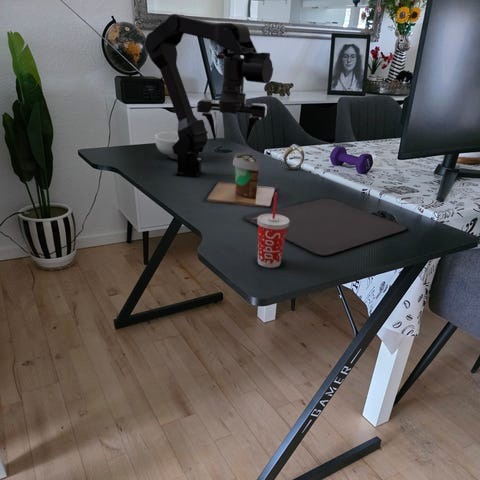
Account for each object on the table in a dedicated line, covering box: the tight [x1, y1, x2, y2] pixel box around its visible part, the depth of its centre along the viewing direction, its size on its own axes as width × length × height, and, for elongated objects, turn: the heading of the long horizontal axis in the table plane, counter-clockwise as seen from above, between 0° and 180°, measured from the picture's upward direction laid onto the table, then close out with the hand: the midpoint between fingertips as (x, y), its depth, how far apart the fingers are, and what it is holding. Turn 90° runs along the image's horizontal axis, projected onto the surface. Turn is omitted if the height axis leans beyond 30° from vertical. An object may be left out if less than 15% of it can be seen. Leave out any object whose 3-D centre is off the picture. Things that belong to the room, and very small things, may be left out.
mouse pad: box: [244, 198, 407, 257], centre depth 110 cm, size 32×27×1 cm
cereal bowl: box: [154, 130, 179, 160], centre depth 156 cm, size 17×17×7 cm
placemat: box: [206, 181, 276, 209], centre depth 126 cm, size 17×17×1 cm
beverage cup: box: [257, 192, 290, 269], centre depth 86 cm, size 6×6×14 cm
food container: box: [232, 151, 260, 199], centre depth 123 cm, size 12×6×10 cm, turn 8°
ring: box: [283, 143, 305, 170], centre depth 151 cm, size 7×3×8 cm, turn 100°
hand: (230, 141), depth 128 cm, fingers open, 9 cm apart
